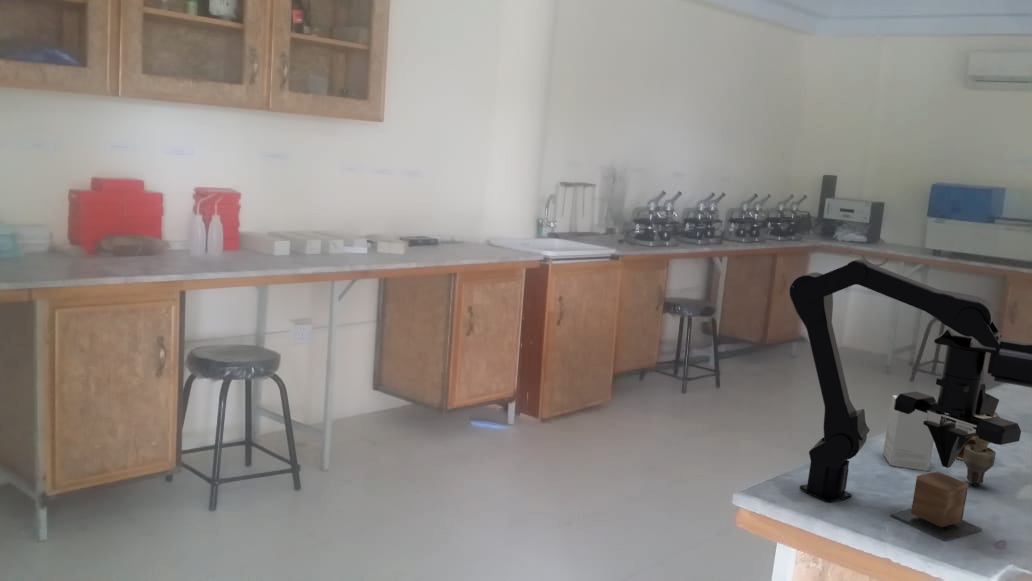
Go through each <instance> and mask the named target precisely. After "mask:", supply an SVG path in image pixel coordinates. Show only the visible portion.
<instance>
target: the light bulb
mask: <svg viewBox="0 0 1032 581" xmlns="http://www.w3.org/2000/svg"><path fill="white" fill-rule="evenodd" d="M975 417H978V418H981V419H987V418H993V417H999V418H1001V417H1000V415H999V413H998V412H996V411H995V413H994V416H993V417H989V416H986V414H984V415H975ZM975 442H976V444H975V445H966V446H965V449H964V454H963V460H962V461H963V463H964V464H965V467H966V468H967V470H966V471H967V474H966V479H967V481H968V482H970V483H971V485H972V486H974V487H979V486H980V484H982V483H983V482H984V476H985V474H986V472H988V471H989V470H990V469H991V468H992V467H993V466H994V462H995V459H996V451H994V450H993V449H992V448H990V447H988V446H989V444H992V443H991V442H988V441H985V440H982V439H979V437H978V436H975Z"/></svg>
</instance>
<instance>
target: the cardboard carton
mask: <svg viewBox="0 0 1032 581" xmlns="http://www.w3.org/2000/svg"><path fill="white" fill-rule="evenodd" d="M969 484H970V483H968V482H966V481H963V480H960V479H958V478H956V477H952V476H951V475H948V474H944V473H942V472H940V471H934V472H929V473H924V474H920V475H916V481H915V486H914V492H913V498H912V504H911V508H910V509H911V514H914V515H916V516H918V517H920V518H923V519H925V520H927V521H929V522H931V523H934V524H936V525H938V526H940V527H944V526H947V525H951V524H955V523H958V522H962V520H963V519H964V518H963V517H964V512H965V507H966V506H965V505H966V501H967V496H968V491H969V490H968V489H969Z"/></svg>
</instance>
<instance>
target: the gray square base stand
mask: <svg viewBox="0 0 1032 581" xmlns="http://www.w3.org/2000/svg"><path fill="white" fill-rule="evenodd" d="M911 509H912V508H908V509H904V510H901V511H896V512H891V513H890V515H889V516H890V517H892V518H894V519H896V520H898V521H901V522H903V523H905V524H908V525H909V526H911V527H913V528H915V529H917V530H920V531H922V532H925V533H926V534H928V535H931V536H933V537H935V538H937V539H940V540H942V541H944V542H947V541H952V540H954V539H959V538H961V537H964V536H968V535H971V534H972V535H973V534H976V533H979V532H982V530H983V528H982V527H980V526H977V525H975V524H973V523H970V522H968V521H965V520H963V519H962V522H958V523H955V524H951V525H947V526H944V527H940V526H938V525H936V524H934V523H931V522H929V521H927V520H925V519H923V518H920V517H918V516H916V515H914V514H911Z"/></svg>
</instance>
